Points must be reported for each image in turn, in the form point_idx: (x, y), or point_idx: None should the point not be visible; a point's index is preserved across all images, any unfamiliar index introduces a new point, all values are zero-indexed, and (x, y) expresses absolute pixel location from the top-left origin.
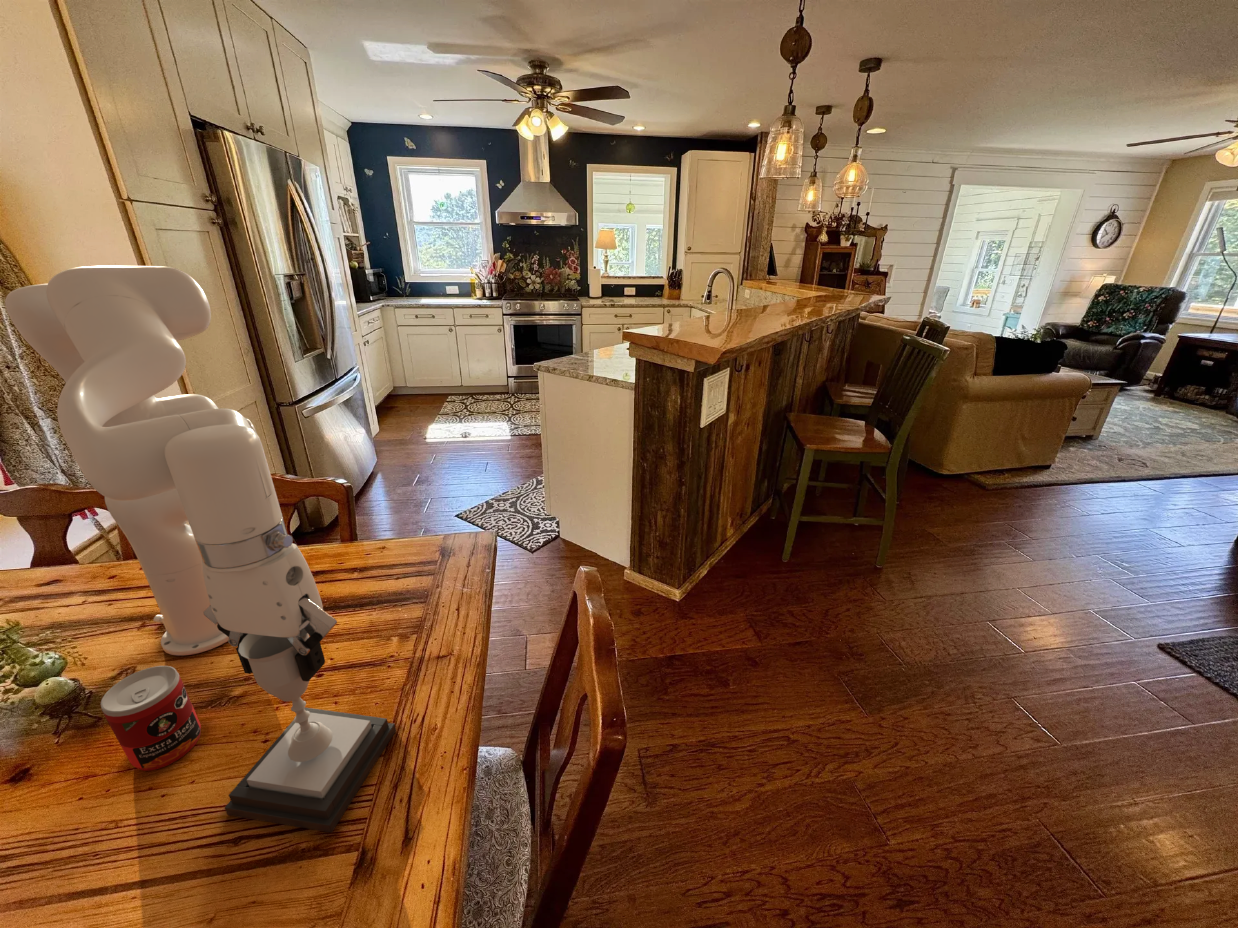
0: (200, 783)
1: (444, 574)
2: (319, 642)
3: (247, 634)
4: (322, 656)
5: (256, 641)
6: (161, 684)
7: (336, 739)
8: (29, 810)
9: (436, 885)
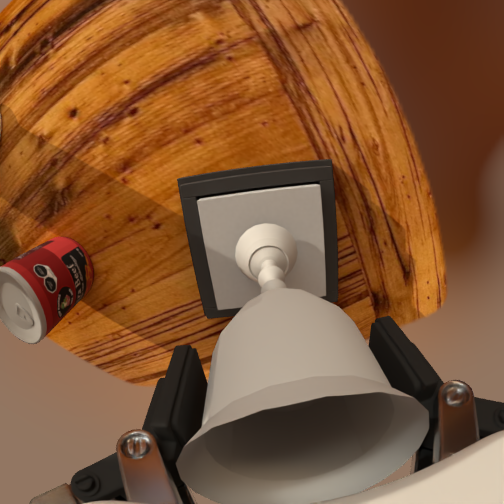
0: (142, 290)
1: None
2: (427, 366)
3: (176, 474)
4: (420, 354)
5: (210, 453)
6: (20, 294)
7: (291, 228)
8: (54, 335)
9: (436, 294)
